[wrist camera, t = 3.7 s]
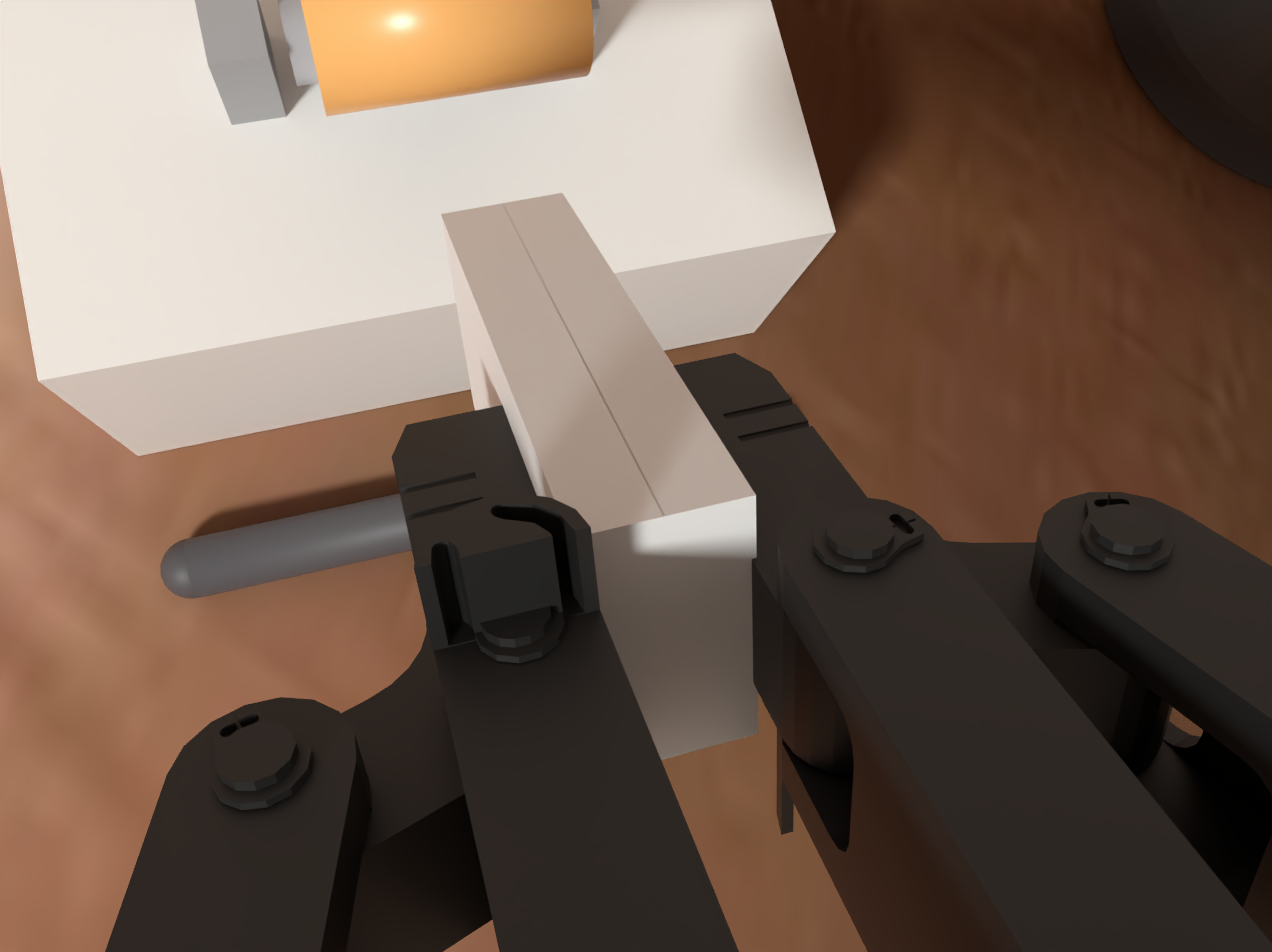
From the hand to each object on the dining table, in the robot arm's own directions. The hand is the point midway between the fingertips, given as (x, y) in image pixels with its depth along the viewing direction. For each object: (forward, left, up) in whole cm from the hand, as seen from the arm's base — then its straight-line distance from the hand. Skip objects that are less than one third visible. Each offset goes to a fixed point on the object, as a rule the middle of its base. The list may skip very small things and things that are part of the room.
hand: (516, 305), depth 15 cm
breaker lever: (-5, -8, -10) cm, 14 cm away
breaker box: (-4, -7, -19) cm, 21 cm away
